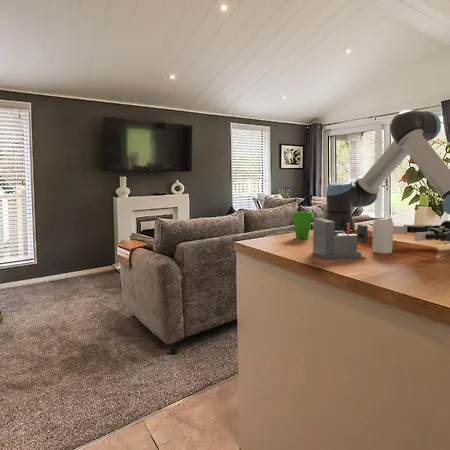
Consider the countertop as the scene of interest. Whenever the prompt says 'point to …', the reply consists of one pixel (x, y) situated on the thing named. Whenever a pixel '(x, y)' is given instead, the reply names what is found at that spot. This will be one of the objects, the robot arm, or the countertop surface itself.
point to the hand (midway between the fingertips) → (402, 233)
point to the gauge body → (333, 241)
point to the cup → (302, 224)
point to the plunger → (359, 232)
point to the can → (382, 235)
